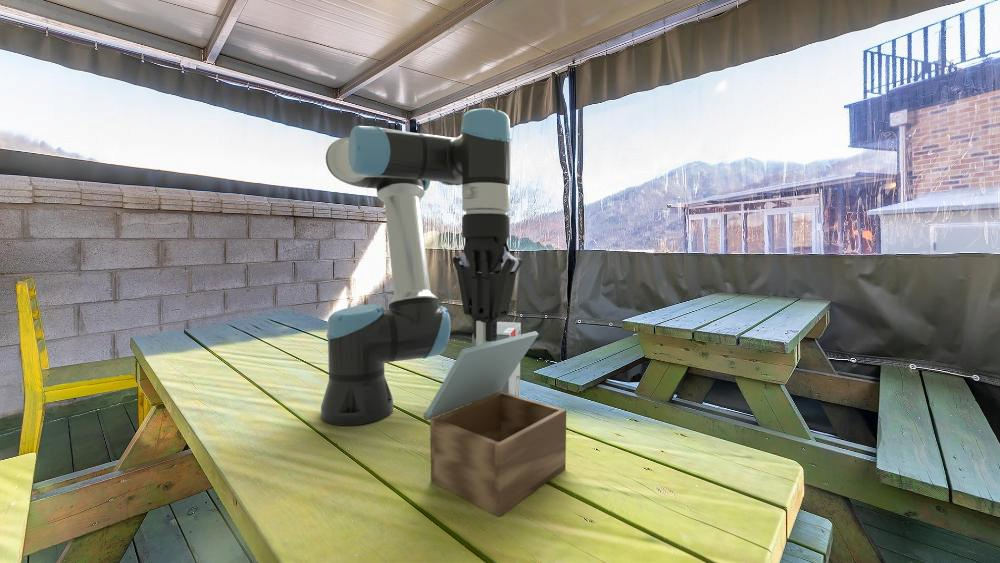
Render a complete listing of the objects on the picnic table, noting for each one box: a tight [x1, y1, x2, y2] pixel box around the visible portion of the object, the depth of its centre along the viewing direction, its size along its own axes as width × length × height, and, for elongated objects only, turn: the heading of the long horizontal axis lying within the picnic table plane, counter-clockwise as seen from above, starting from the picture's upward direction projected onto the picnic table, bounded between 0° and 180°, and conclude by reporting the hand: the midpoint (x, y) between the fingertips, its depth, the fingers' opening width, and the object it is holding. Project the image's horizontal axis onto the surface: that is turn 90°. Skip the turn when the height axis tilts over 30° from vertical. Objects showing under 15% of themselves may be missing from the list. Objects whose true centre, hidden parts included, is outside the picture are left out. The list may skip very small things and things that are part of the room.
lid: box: [422, 330, 539, 421], centre depth 71 cm, size 15×18×1 cm
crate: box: [429, 392, 567, 518], centre depth 70 cm, size 14×17×10 cm
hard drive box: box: [471, 321, 522, 403], centre depth 92 cm, size 16×8×20 cm, turn 168°
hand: (485, 360), depth 71 cm, fingers closed
